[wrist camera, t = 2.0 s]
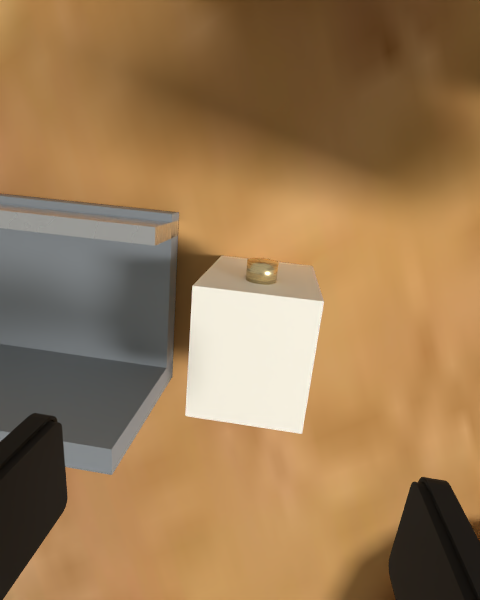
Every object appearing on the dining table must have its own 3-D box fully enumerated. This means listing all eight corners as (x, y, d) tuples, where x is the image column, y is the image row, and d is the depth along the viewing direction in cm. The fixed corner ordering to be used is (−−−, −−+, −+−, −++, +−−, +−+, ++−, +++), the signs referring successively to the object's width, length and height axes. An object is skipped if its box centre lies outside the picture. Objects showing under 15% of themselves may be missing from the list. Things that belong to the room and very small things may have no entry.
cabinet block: (297, 362, 26) (301, 433, 19) (214, 351, 27) (185, 415, 19) (314, 250, 24) (327, 279, 16) (222, 240, 24) (193, 264, 17)
